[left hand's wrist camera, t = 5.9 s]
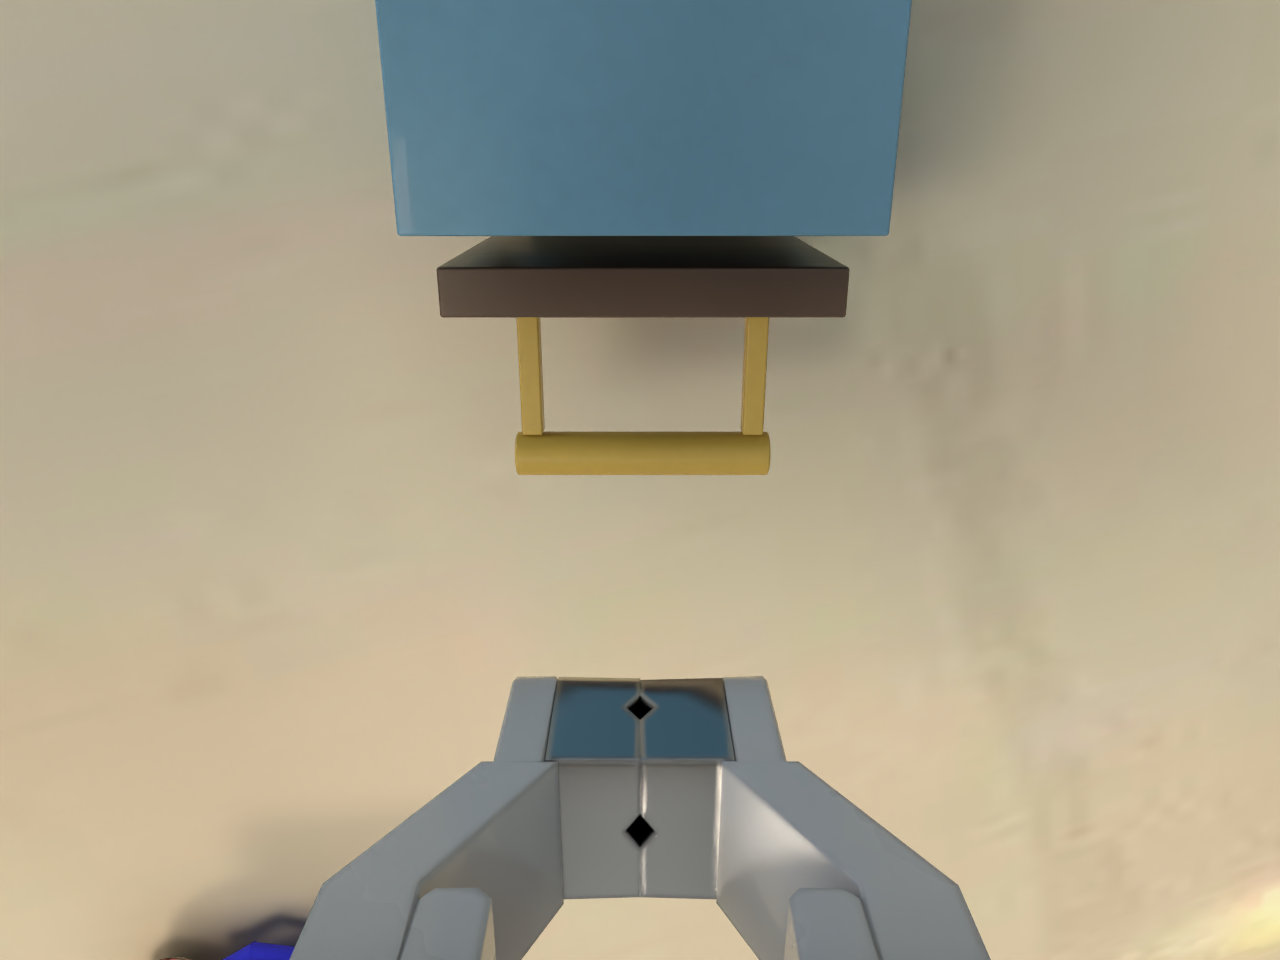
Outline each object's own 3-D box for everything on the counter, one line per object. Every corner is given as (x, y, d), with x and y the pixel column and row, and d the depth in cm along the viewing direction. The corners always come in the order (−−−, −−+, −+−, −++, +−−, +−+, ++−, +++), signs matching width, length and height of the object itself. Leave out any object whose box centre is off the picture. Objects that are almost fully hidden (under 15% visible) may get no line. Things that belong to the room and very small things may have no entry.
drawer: (775, 412, 32) (829, 516, 23) (508, 411, 32) (456, 516, 23) (822, -403, 24) (934, -745, 15) (463, -403, 24) (353, -742, 15)
